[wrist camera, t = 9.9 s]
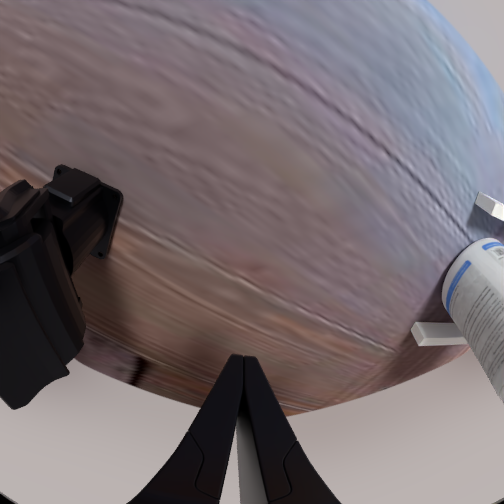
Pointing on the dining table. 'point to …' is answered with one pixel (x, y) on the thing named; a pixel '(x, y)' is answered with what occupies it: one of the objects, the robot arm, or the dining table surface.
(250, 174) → the dining table surface
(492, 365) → the supplement tub
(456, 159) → the dining table surface
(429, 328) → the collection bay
